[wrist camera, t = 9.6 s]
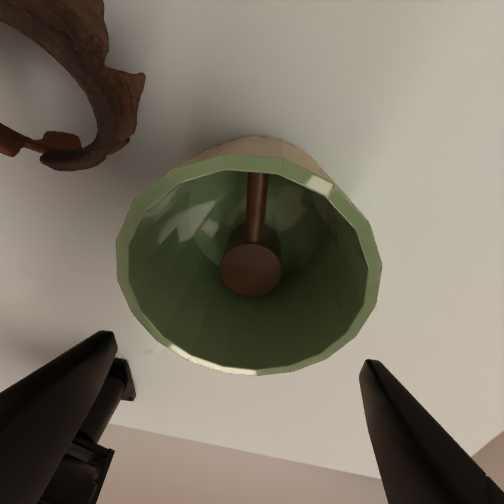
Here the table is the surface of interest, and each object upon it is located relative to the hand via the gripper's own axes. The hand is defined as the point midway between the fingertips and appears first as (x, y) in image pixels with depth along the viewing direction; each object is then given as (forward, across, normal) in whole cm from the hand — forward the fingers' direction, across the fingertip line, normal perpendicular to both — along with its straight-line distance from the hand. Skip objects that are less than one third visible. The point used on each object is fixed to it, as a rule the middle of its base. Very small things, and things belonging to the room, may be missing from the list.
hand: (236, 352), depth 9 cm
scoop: (+10, 0, -1) cm, 10 cm away
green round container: (+10, 0, -1) cm, 11 cm away
